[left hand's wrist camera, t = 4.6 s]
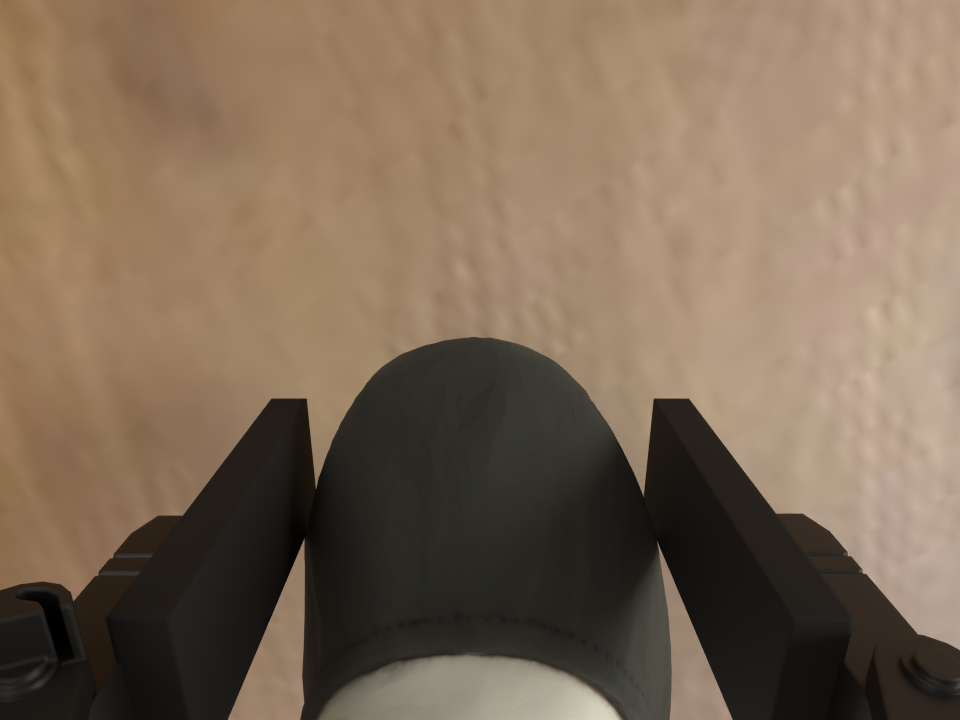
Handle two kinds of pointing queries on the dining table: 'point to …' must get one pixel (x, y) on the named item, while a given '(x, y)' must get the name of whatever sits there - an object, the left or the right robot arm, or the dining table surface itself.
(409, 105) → the dining table surface
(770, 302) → the dining table surface
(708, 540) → the left robot arm
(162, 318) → the dining table surface
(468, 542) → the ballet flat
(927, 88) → the dining table surface
